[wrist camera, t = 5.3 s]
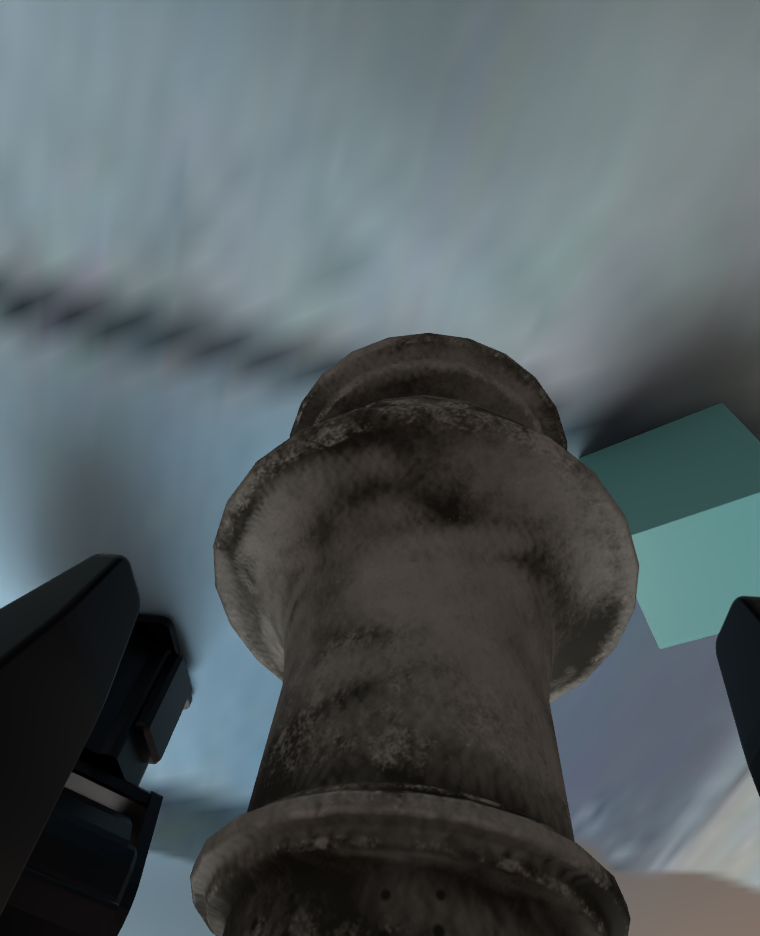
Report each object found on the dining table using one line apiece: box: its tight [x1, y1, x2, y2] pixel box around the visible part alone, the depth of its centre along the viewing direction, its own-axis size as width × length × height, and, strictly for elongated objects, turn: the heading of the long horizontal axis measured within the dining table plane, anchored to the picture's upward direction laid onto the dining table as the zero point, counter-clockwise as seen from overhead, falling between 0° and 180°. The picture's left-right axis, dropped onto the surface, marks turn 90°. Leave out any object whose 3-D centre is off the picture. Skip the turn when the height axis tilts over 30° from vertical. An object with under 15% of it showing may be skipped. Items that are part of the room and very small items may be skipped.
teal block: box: [579, 403, 760, 649], centre depth 19 cm, size 5×5×5 cm
